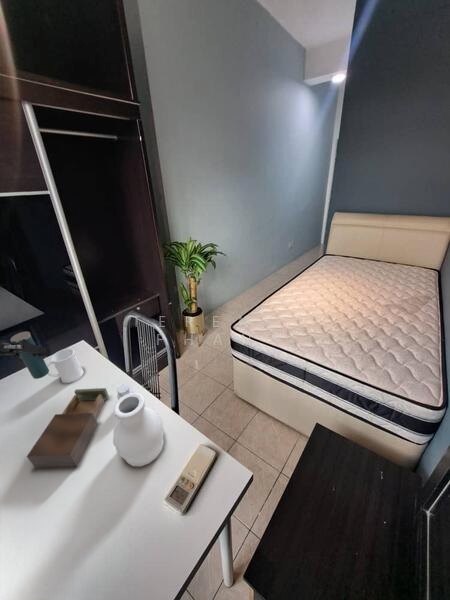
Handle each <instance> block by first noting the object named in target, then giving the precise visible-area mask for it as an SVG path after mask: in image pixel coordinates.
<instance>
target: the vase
mask: <svg viewBox="0 0 450 600" xmlns="http://www.w3.org/2000/svg"><path fill="white" fill-rule="evenodd" d="M113 413H114V416H115V417H116V418H117V419H118V420H117V422H116V425H115V426H114V429H113V435H112V436H113V437H112V438H113V439H112V443H113V446H114V447H115V450H116V452H117V454H118V455H119V456H120V457H121V458H122V459H123V460H125V462H126V463H127V464H129V465H130V466H132V467H144V466H146V465H148V464H150V463H151V462H153V461H154V460H155V459H157V457H158V456H159V455H160V453H161V452H162V449H163V446H164V433H165V432H164V425H163V419H162V416H160V415H159V413H158V412H157V411H156V410H154V409H153V408H150V407H148V406H146V402H145V397H144V396H143V394H141V393H138V392H133V393H130V394H126V395H125V396H123V397H121V398H120V399H119V400H118V399H117V401H116V402H115V404H114V405H113Z"/></svg>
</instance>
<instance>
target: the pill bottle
mask: <svg viewBox="0 0 450 600" xmlns="http://www.w3.org/2000/svg"><path fill="white" fill-rule="evenodd" d="M116 392H117V401H118V400H119V399H120V398H121V397H123V396H125V395H126V394H130V393H134V391H133V389H132V388H130V386H129V385H128V384H127V383H125V384H121V385H119V386H118V387H117V389H116Z"/></svg>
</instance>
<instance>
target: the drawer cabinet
mask: <svg viewBox="0 0 450 600" xmlns="http://www.w3.org/2000/svg"><path fill="white" fill-rule="evenodd" d="M97 421H98V420H97V418H96V419H95V417H94V415H93V413H77V414H62V413H56V414H54V416H53V417H52V418H51V420H50V421H49V423H48V424H47V426H46V427H45V429H44V430H43V432H42V433H41V435H40V436H39V438H38V439H37V441H36V442H35V444H34V445H33V447H32V448H31V449H30V451H29V452H28V454H27V455H26V458H27V459H28V460H29V461H30V463H31V464H32V465H33V467H34V468H35V469H53V468H54V469H55V468H78V466H79V464H80V463H81V460H82V458H83V456H84V454H85V452H86V451H87V448H88V446H89V445H90V443H91V440H92V438H93V436H94V434H95V432H96V429H97V427H98V425H99V423H98V422H97Z"/></svg>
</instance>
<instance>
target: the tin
mask: <svg viewBox="0 0 450 600" xmlns="http://www.w3.org/2000/svg"><path fill="white" fill-rule="evenodd" d="M10 342H21V343H26V344H33V345H37V344H36V342H35V341H34V339H33V337H32V334H31V332H30V331H21V332H18V333H16V334H14V335H13V336H11V337H10ZM19 354H20V356H19V357H20V358H21V360H22V362H23V363H24V365H25V367H26V368H27V370H28V372H29V373H30V375H31V377H32V378H33V379H35V380H38V379H41V378H44V377H45V376H47V375H48V373H49V372H50V369H49V367H47V365H48V364H47V363H46V361H45V359H44V358H43V356H40V355H37V356H36V357H33V355H32V354H23V353H19Z"/></svg>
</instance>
